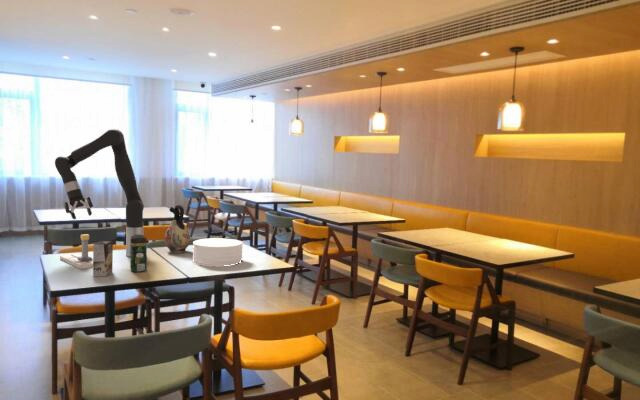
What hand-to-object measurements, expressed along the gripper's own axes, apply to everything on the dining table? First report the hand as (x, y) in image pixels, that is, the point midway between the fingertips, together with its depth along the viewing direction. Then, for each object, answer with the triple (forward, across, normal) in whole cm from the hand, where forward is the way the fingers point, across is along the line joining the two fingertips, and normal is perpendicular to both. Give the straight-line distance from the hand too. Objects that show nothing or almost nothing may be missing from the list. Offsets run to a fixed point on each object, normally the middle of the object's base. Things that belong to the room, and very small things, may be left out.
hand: (82, 217), depth 269 cm
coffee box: (+35, -14, -36) cm, 52 cm away
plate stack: (+50, +47, -42) cm, 80 cm away
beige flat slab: (+25, -11, -6) cm, 28 cm away
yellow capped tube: (+24, -11, -12) cm, 29 cm away
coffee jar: (+39, +3, -38) cm, 54 cm away
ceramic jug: (+37, +44, -8) cm, 58 cm away
